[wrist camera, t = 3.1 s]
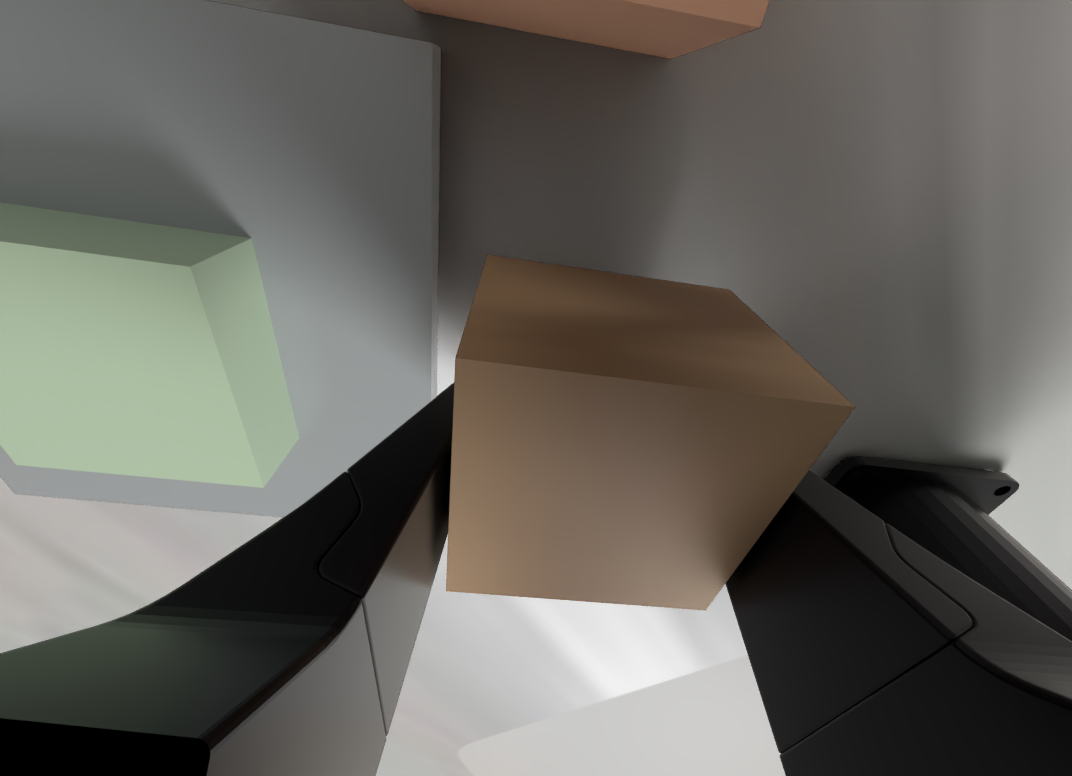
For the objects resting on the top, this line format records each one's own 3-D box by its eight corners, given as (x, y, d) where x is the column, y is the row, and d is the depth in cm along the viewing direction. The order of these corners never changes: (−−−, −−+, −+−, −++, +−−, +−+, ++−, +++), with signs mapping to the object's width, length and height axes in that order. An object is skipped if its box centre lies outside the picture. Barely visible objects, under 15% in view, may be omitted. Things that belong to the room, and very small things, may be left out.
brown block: (729, 289, 8) (855, 406, 5) (655, 462, 11) (705, 610, 8) (487, 254, 8) (455, 357, 5) (472, 443, 11) (446, 590, 8)
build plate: (440, 48, 8) (403, 24, 6) (435, 512, 16) (418, 582, 13) (-416, -113, 7) (-907, -227, 4) (38, 476, 15) (-55, 546, 12)
